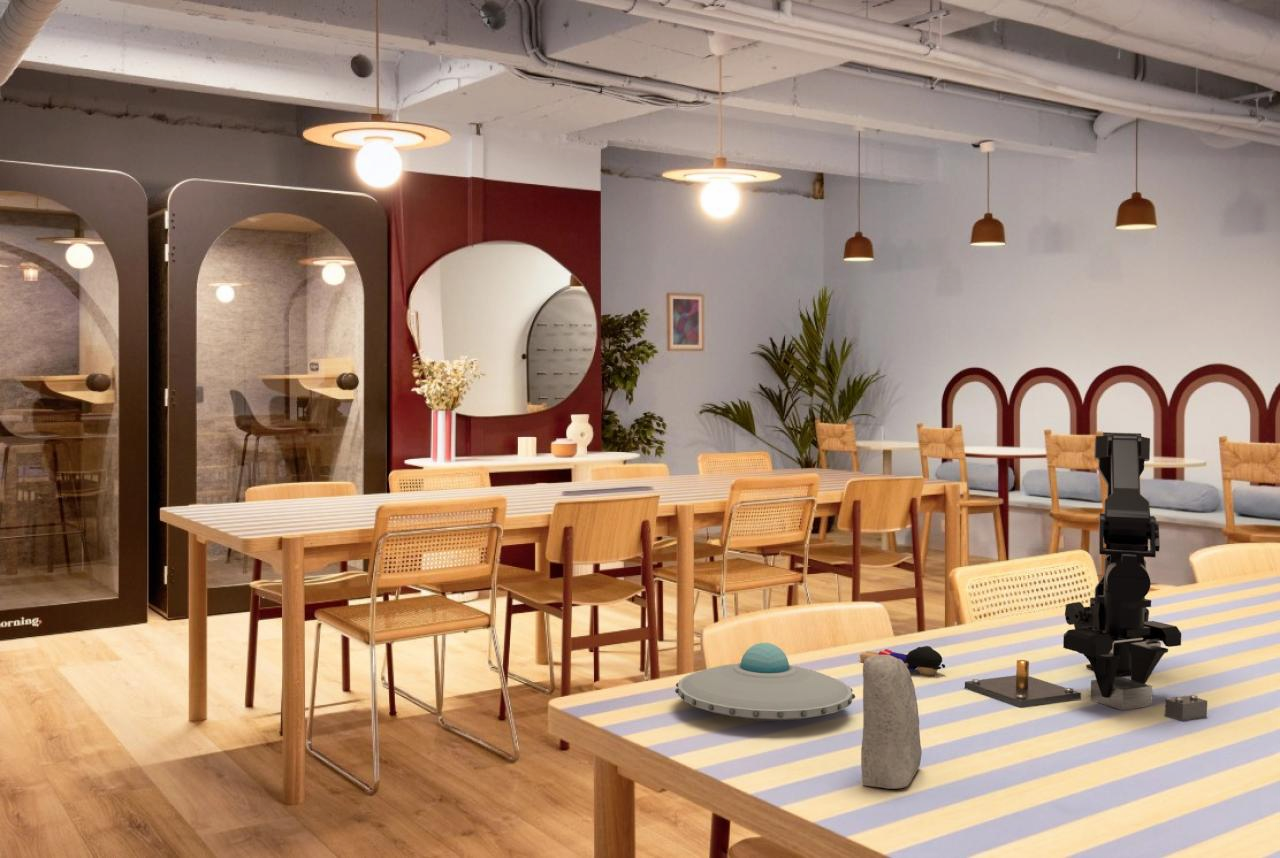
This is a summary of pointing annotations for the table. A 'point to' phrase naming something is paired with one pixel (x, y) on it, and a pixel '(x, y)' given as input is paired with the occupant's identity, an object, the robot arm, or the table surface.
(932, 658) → the toy
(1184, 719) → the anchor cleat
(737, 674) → the toy
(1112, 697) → the socket
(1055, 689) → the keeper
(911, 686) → the decorative stone
